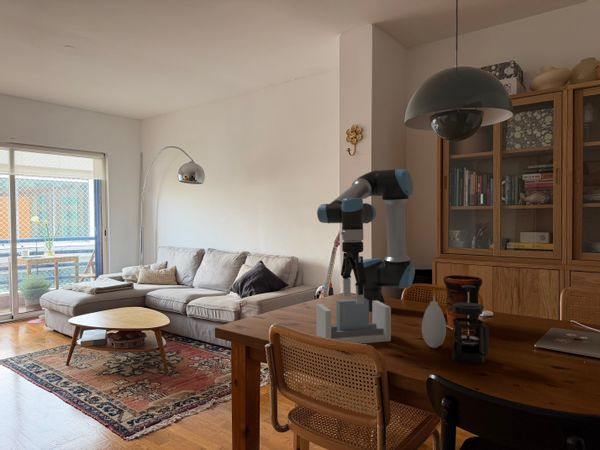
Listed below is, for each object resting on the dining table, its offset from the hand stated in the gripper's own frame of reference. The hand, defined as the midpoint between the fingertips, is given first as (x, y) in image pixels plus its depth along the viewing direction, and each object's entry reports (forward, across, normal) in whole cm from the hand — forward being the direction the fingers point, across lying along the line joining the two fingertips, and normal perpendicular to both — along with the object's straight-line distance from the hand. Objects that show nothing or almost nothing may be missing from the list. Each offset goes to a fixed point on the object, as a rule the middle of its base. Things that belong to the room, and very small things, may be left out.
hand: (353, 299), depth 156 cm
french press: (+14, +30, +27) cm, 43 cm away
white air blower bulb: (+14, +16, +23) cm, 31 cm away
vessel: (+15, -4, +47) cm, 49 cm away
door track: (+14, 0, 0) cm, 14 cm away
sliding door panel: (+12, 0, 0) cm, 12 cm away
